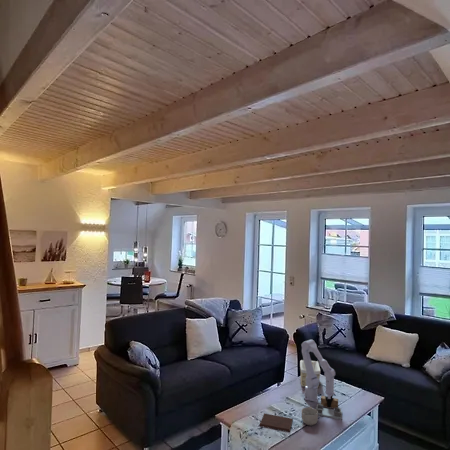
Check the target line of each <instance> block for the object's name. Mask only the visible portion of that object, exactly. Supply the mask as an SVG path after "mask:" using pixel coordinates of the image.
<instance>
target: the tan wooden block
mask: <svg viewBox="0 0 450 450" xmlns="http://www.w3.org/2000/svg"><path fill="white" fill-rule="evenodd" d="M325 396H326V395H321V396H320V405H323V408H327V409H332V410H335V407H336V408H339V398H335V397H332V398H333V401H332V403H331V407H328V406H327V401H326V399H325Z"/></svg>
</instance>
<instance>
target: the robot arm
mask: <svg viewBox="0 0 450 450" xmlns="http://www.w3.org/2000/svg"><path fill="white" fill-rule="evenodd" d="M300 345H301V355H302V360H304V363H305V367H306V371H307V377H306V385H307V386H305V387H304V400H306V401H309V402H310V401H311V402H314V403H315V402H316V403H317V402H318V400H319V396H318V388H319V387H318V385H320V378H319V379H318V378H317V375H316V374H314V370H313V366H312V362H311V361H312V358H311V355H310V352H311V353H313V355H314V356H315V358H317V361H318V363H319V367H321V370H322V371H323V372H324V373H323V375H324V377H325V395H324V396H325V399H326V401H327V406H328V407H331V403H332V401H333V398H334V395H336V392H335V387H334V386H335V376H336V370H335V369H334V368H332V367H331V366H330V364H329V363H328V361H327V360H326V359H324V358H323V356H322V354H321V352H320V351H319V349H318V347H317V346H318V345H317V343H316V342H315V340H313V339H308V340H305V341H303V342H302V343H301V344H300ZM317 387H318V388H317ZM328 407H327V408H328Z"/></svg>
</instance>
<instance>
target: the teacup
mask: <svg viewBox="0 0 450 450" xmlns="http://www.w3.org/2000/svg"><path fill="white" fill-rule="evenodd" d="M300 412H301V419H302V421H303V423H304V424H305V425H307V426H314V425H316V424H317V423H318V420H319V419H318V418H319V415H318V411H317V410H316V408H313V406H309V407H304V408H302V409H301V411H300Z"/></svg>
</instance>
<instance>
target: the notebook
mask: <svg viewBox="0 0 450 450" xmlns="http://www.w3.org/2000/svg"><path fill="white" fill-rule="evenodd" d="M293 419H294V418H290V417H285V416H280V415H275V414H269V413H263V415H262V418H261V420H260V422H259V427H263V426H264V428H268V427H269V428H268V429H273V428H274V430H278V429H279V431H283V430H284V432H287V433H288V432H291V428H292V424H293V421H294V420H293Z"/></svg>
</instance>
